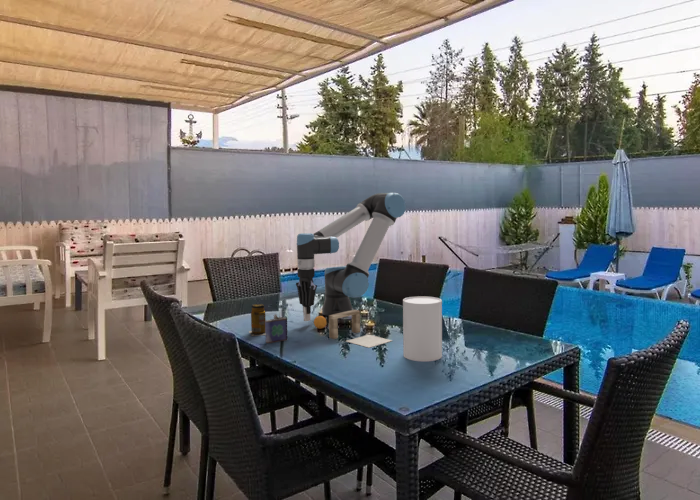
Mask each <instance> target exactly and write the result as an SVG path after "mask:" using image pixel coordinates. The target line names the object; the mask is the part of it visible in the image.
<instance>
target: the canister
mask: <svg viewBox="0 0 700 500" xmlns="http://www.w3.org/2000/svg"><path fill="white" fill-rule="evenodd" d="M442 300H443V299H441V298H439V297H434V296H425V295H424V296H421V295H420V296H419V295H418V296H409V297H405V298H403V299H402V309H403V310H402V327H403V328H402V330H403V332H402V333H403V335H402V338H403V341H402V342H403V346H402V347H403V349H402V350H403V352H402V353H403V357H404V358H405V359H407V360H409V361H415V362H434V361H438V360H440V359H442V357H443V314H442V313H443V306H442V305H443V301H442Z"/></svg>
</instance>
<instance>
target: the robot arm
mask: <svg viewBox="0 0 700 500" xmlns="http://www.w3.org/2000/svg"><path fill="white" fill-rule="evenodd" d="M406 207H407V205H406V201H405V199H404V197H403V196H402V195H401V194H399V193H397V192H384V193H383V192H378V193H374V194H372V195H370V196H368V197H367V198H365V199H364V200H362V201H361V202H358V204H357V205H356V206H355V208H353V209H352V210H350V211H348V212H347V213H345V214H343V215H342V216H340V217H339V218H337V219H335V220H334V221H332V222H331V223H329V224H327V225H326V226H324V227H322V228H321V229H319V230H318V231H316V232H314V233H311V232H310V233H309V232H306V233H305V232H304V233H302V232H301V233H298V234H297V236H296V255H297V258H296V259H297V261H296V262H297V268H298V269H297V278H299V279H298V282H295V286H296V288H297V295H298V300H299V304H300V305H301V306H302V312H303V322H310V321H311V312H312V310H311V307H312V306H314V305H315V299H316V292H317V287H318V285H317V284H315V283H314V277H315V273H316V272H315V267H316V266H315V255H323V254H324V255H325V254H335V253H338V251H339V249H340V241H339V239H338V238H339V237H341V236H342V235H344V234H345V233H346V232H348V231H350V230H352V229H354V227H356V226H358V225H360V224H361V223H362V222H364V221H365V222H369V221H370V220H371V222H370V225H369V226H368V228H367V231H366V232H365V234H364V237H363V238H362V240H361V243H360V245H359V246H358V249H357V251H356V253H355V255H354V256H353V258H352V261H350V262H348V263H347V264H346V265H345V266H343V265H342V266H332V267H326V268H325V270H324V275H323V276H324V301H323V306H322V309H321V314H322V316H323V315H324V316H327V317H329V315H333V314H337V313H342V312H346V311H351V310H354V308H353V305H352V303H351V302H352V301H351V299H350V298H359V297H362V296H363V295H364V294H366V292H368V289H369V285H370V283H369V277H370V273H369V269H370V267H371V265H372V262H373V261H374V259H375V257H376V255H377V253H378V251H379V249H380V246H381V245H382V242H383V241H384V238H385V236H386V234H387V232H388V230H389V228H390V226H393V225H395V223H396V220H397V219H398V218H401V217H402V216H403V215H404V214H405V212H406V209H407V208H406Z"/></svg>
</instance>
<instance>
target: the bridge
mask: <svg viewBox="0 0 700 500" xmlns="http://www.w3.org/2000/svg"><path fill="white" fill-rule="evenodd" d="M346 317H351V333H355V334H358V333H361V310H358V309H353V310H351V311H346V312H342V313H337V314H333V315H329V316H328V331H329V332H328V336H329V337H328V339H329V338H330V339H332V340H336V339H338V338H339V330H338V327H339V326H338V321H339V320H338V319H342V318H346Z"/></svg>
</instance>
